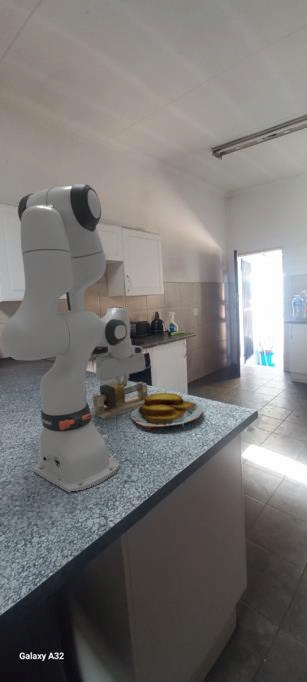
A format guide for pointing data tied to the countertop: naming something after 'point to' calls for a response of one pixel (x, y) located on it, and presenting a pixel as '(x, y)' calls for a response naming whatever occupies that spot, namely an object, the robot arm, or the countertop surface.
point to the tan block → (118, 392)
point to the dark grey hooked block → (108, 395)
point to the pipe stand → (127, 406)
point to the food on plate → (166, 410)
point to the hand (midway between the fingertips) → (123, 386)
